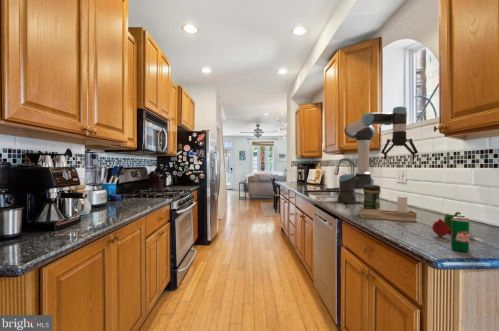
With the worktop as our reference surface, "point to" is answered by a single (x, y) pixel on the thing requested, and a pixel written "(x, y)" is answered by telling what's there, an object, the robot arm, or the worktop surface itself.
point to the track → (388, 214)
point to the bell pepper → (448, 219)
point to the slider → (402, 204)
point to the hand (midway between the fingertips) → (398, 164)
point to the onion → (440, 228)
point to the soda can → (460, 234)
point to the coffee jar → (371, 197)
